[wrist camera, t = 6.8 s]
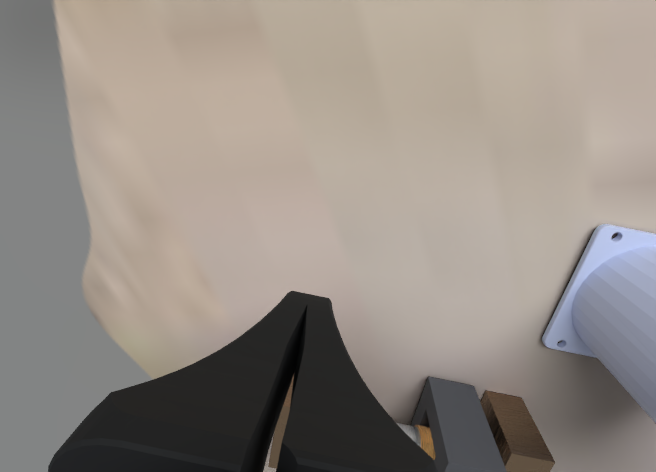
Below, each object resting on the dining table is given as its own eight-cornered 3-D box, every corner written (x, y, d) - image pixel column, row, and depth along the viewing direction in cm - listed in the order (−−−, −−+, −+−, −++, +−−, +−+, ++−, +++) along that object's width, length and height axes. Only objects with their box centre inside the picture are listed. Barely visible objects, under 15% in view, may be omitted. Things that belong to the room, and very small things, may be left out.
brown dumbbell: (521, 397, 25) (556, 464, 20) (495, 450, 26) (521, 521, 22) (293, 350, 25) (278, 407, 20) (283, 406, 27) (267, 468, 22)
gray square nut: (474, 386, 24) (507, 474, 18) (446, 450, 26) (469, 547, 21) (428, 376, 24) (448, 462, 18) (404, 441, 26) (416, 536, 21)
